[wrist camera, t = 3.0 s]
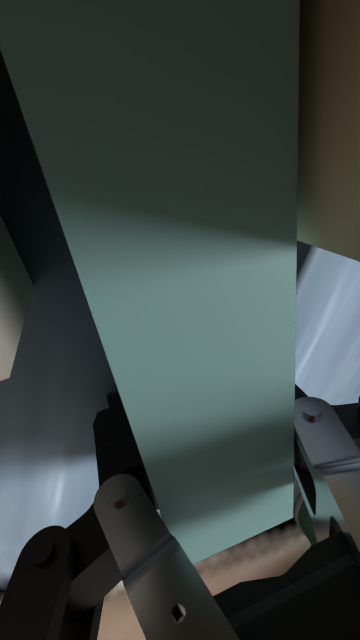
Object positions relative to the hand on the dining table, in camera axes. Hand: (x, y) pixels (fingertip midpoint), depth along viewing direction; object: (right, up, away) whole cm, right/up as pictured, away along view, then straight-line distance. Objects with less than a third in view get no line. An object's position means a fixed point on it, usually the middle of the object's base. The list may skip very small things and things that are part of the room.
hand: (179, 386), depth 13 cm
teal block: (-1, +4, -2) cm, 5 cm away
